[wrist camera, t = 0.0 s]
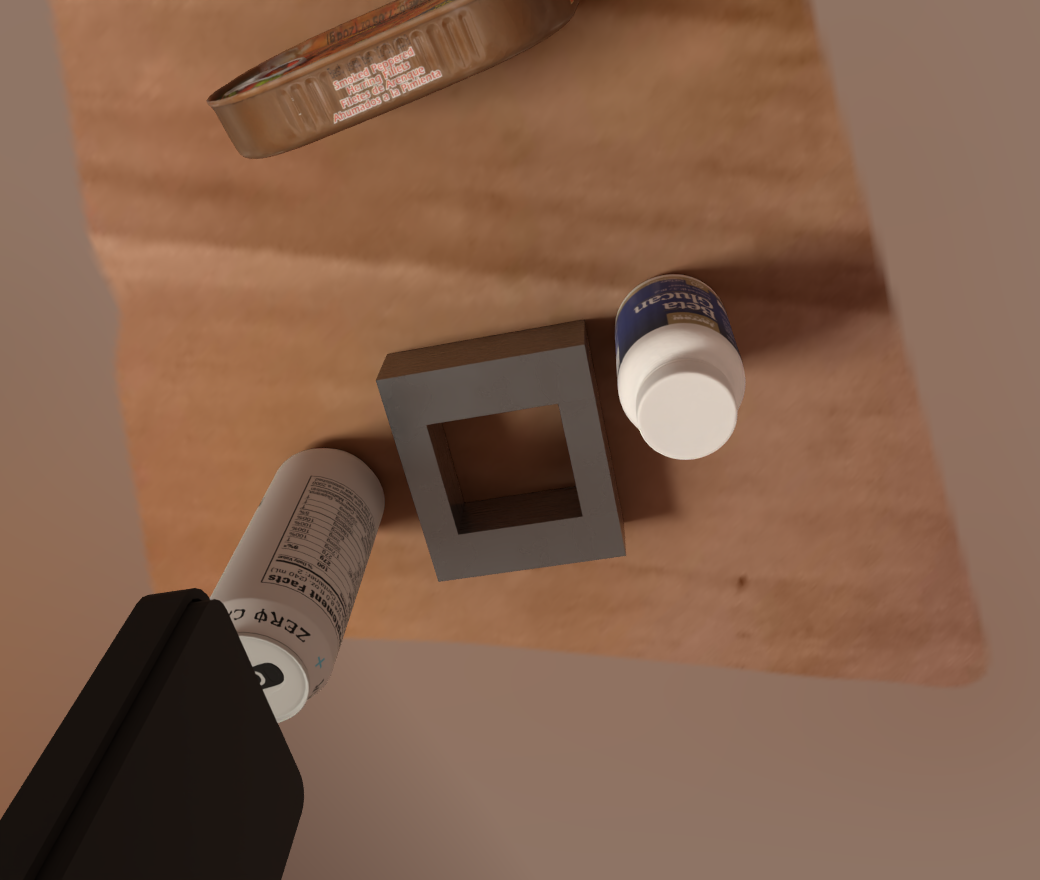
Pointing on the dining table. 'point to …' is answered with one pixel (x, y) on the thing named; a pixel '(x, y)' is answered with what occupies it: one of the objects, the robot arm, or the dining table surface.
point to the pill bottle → (678, 366)
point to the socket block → (490, 390)
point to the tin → (376, 67)
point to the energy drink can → (302, 572)
